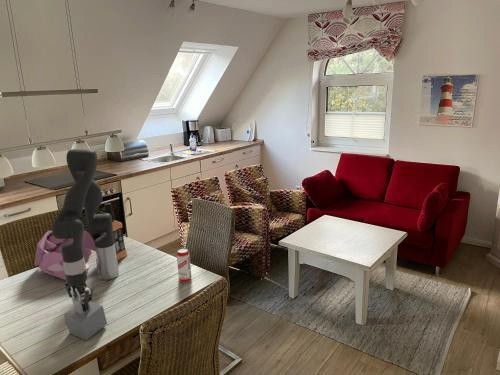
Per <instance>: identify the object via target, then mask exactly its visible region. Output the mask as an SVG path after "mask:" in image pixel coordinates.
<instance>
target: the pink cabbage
mask: <svg viewBox="0 0 500 375" xmlns="http://www.w3.org/2000/svg"><path fill="white" fill-rule="evenodd" d="M70 242H73V239H57V238H55V237H54V236H53V234H52V229H51V230H47V231H46V232H45V233H44V234H43V236H42V237H41V238H40V240H39V241H38V242H37V244H36V252H35V258H34V266H35V267H39V270H40V271H41V272H43V273H45V274H48V275H51V276H54V277H56V278H59V279H61V280H64V281H66V277H65V272H64V266H63V257H62V251H61V248H62V246H63V245H64V244H67V243H70ZM82 250H83V256H84V260H85V264H86V270H87V274H88V273H89V271H88V269H89V268H90V264H89V263H88V262H89V260H90V256H92V251H94V252H96V249H95V240H94V238H93V236H92V235H91V234H90V233H89V232H88V231H87V230H85V229H84V233H83V239H82ZM49 251H50V252H49Z"/></svg>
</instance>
